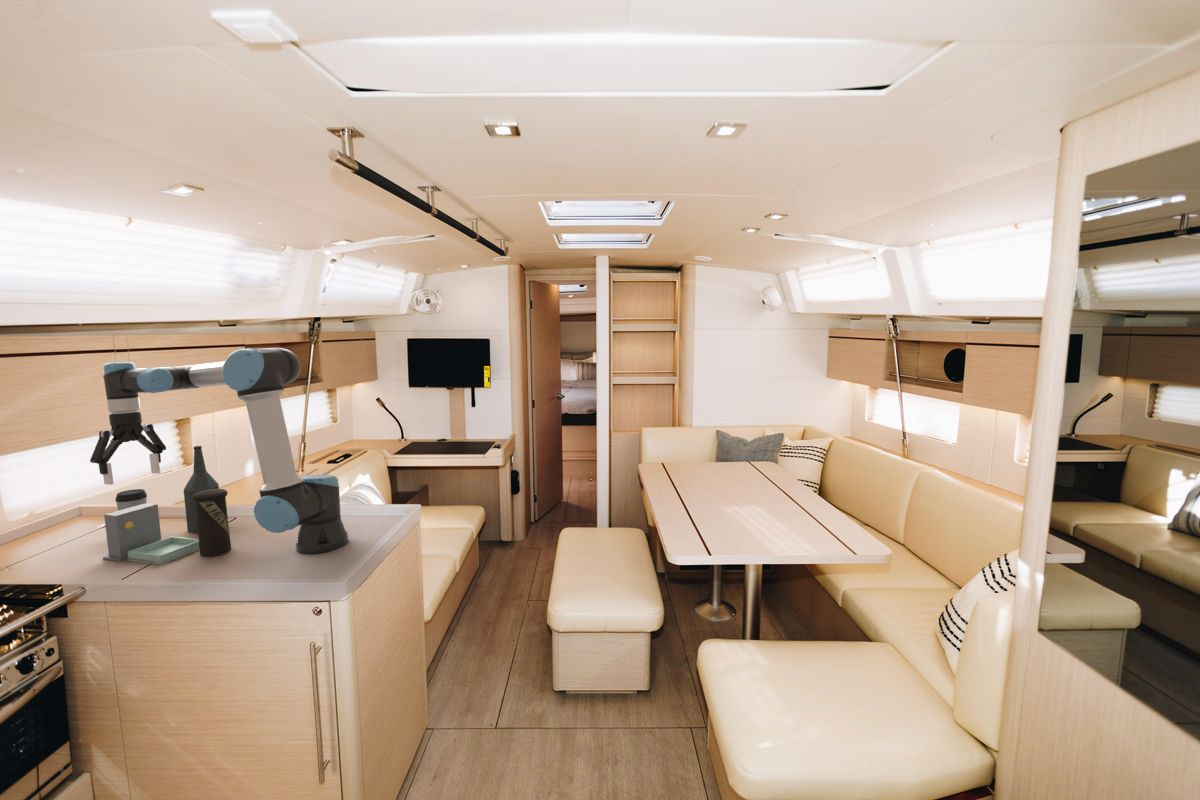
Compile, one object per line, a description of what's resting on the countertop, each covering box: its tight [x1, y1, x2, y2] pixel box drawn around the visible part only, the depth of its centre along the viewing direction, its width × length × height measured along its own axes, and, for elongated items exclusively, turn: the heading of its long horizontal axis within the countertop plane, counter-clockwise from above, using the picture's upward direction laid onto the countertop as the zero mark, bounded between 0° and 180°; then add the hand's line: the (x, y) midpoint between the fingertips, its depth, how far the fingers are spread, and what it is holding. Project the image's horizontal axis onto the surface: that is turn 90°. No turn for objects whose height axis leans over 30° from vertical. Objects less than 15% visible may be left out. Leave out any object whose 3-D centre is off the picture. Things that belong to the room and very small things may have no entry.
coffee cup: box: [114, 488, 148, 511], centre depth 186 cm, size 8×8×15 cm
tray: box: [127, 535, 199, 566], centre depth 169 cm, size 13×13×3 cm
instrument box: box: [102, 502, 162, 562], centre depth 170 cm, size 7×14×14 cm, turn 165°
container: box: [192, 488, 232, 557], centre depth 169 cm, size 9×9×20 cm
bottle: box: [183, 445, 220, 534], centre depth 190 cm, size 10×10×30 cm
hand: (133, 478), depth 169 cm, fingers open, 13 cm apart
